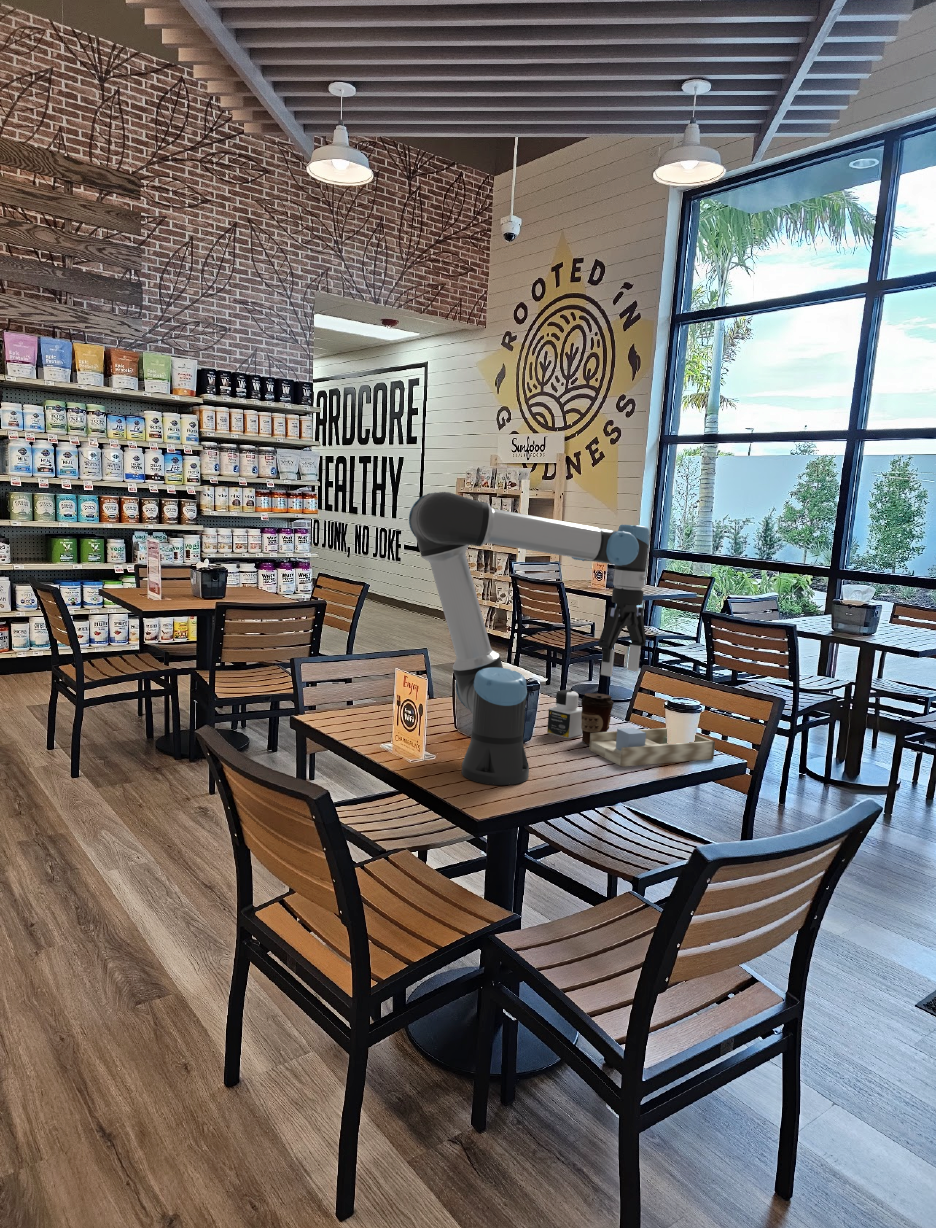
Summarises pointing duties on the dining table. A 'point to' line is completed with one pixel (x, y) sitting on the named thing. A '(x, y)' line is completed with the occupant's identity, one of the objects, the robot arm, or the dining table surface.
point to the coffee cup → (595, 714)
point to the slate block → (630, 738)
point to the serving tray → (651, 749)
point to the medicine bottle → (565, 715)
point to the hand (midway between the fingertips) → (619, 673)
